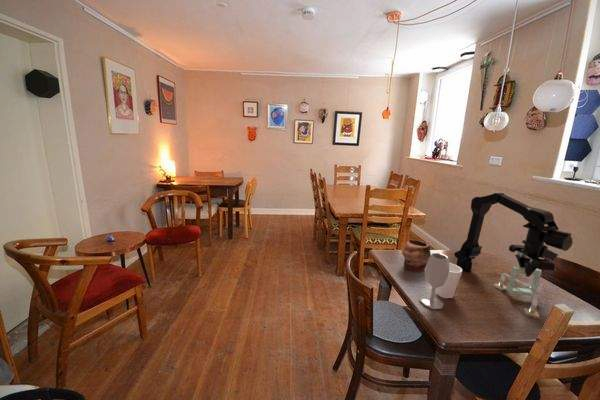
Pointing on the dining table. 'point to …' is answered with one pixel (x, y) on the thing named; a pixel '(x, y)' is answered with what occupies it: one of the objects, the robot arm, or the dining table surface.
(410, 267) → the decorative planter
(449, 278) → the foam cup
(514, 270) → the mint green frame
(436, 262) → the wineglass
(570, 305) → the dining table surface
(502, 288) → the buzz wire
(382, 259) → the dining table surface
